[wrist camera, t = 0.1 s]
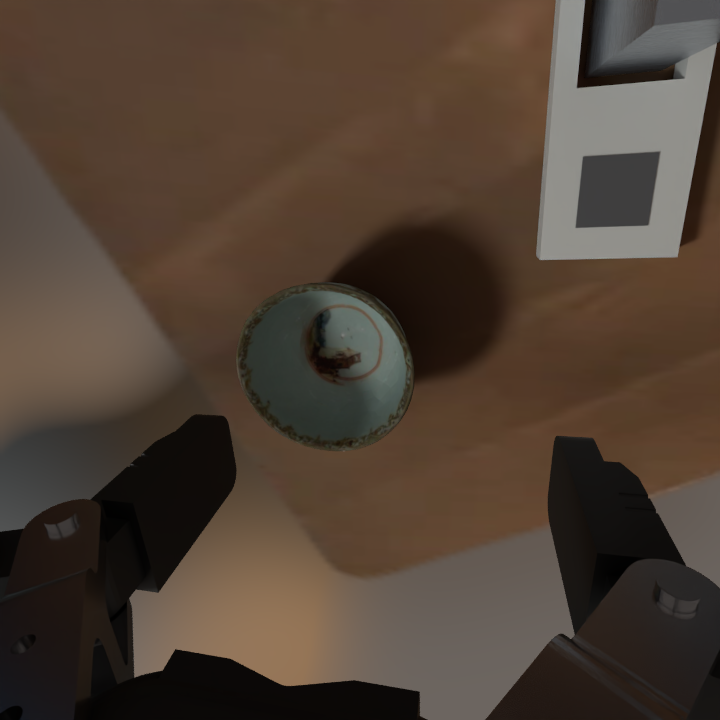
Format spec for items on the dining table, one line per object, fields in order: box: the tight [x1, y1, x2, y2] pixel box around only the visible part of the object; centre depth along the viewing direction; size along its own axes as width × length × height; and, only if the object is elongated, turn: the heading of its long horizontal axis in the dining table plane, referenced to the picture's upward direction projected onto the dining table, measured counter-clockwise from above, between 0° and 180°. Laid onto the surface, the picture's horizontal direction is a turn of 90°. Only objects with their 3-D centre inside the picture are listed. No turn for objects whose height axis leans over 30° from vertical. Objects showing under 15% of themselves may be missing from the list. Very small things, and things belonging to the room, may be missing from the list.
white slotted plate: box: [536, 0, 717, 260], centre depth 30 cm, size 28×9×2 cm, turn 3°
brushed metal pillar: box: [584, 0, 720, 78], centre depth 25 cm, size 5×5×13 cm
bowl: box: [236, 282, 414, 451], centre depth 39 cm, size 14×13×8 cm
